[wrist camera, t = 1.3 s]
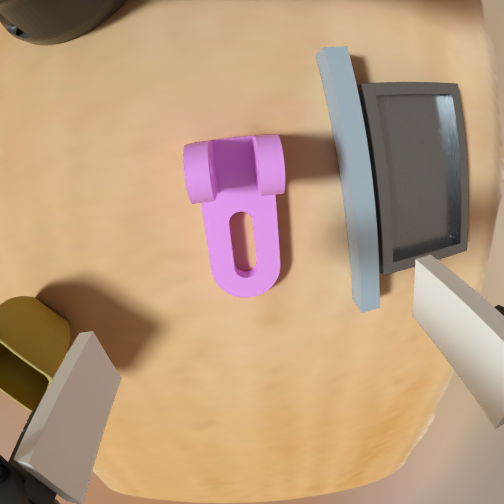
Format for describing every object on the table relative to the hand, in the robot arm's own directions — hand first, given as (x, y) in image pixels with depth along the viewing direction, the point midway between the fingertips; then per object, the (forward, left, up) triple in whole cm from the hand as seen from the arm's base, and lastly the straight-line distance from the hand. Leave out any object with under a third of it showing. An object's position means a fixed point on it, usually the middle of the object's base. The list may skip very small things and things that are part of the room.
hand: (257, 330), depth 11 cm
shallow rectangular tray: (-1, +16, -14) cm, 22 cm away
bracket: (0, 0, -15) cm, 15 cm away
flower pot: (+6, -24, -15) cm, 29 cm away
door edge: (-1, +9, -14) cm, 17 cm away
